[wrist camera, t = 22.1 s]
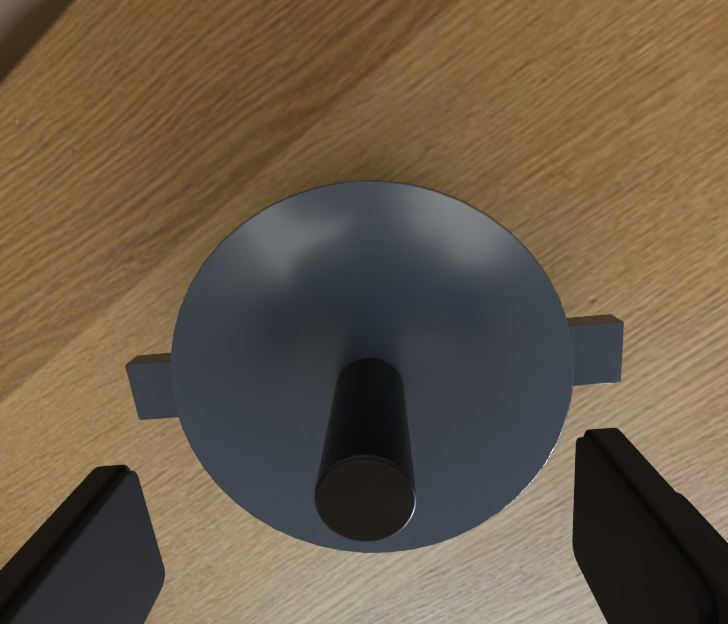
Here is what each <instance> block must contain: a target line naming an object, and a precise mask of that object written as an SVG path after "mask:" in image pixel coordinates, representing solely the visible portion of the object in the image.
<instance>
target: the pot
mask: <svg viewBox="0 0 728 624" xmlns="http://www.w3.org/2000/svg"><path fill="white" fill-rule="evenodd" d="M567 321H568V326H569V331H570V336H571V341H572V346H573V361H574V378H573V386H581V385H594V384H607V383H619V382H621V366H622V347H623V327H624V322H623V321H621V320H620V319H618V318H616V317H615V316H613V315H611V314H608V315H597V316H585V317H574V318H567ZM125 367H126V371H127V374H128V378H129V382H130V386H131V390H132V394H133V398H134V401H135V405H136V409H137V413H138V417H139V419H140V420H147V419H159V418H172V417H179V416H178V412H177V409H176V406H175V401H174V395H173V389H172V382H171V353H163V354H151V355H140V356H136V357H135V358H134V359H132V360H131V361H130V362H128V363H127V364H126V366H125Z"/></svg>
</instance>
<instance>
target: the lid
mask: <svg viewBox="0 0 728 624" xmlns="http://www.w3.org/2000/svg"><path fill="white" fill-rule="evenodd" d="M573 378H574V361H573V346H572V341H571V336H570V331H569V326H568V321H567V318H566V316H565V313H564V310H563V307H562V304H561V302H560V299H559V296H558V295H557V293H556V291H555V289H554V287H553V285H552V283H551V281H550V280H549V278H548V276H547V274H546V273H545V271H544V270H543V269H542V267H541V266H540V264H539V263H538V262H537V260H536V259H535V258H534V256H533V255H532V254H531V252H530V251H529V250H528V249H527V248H526V247H525V246H524V245H523V244H522V243H521V242H520V241H519V240H518V239H517V238H516V237H515V236H514V235H513V234H512V233H511V232H510V231H509V230H507V229H506V228H505V227H503V226H502V225H501V224H499V223H498V222H497V221H495V220H494V219H493V218H491V217H490V216H489V215H487V214H485V213H484V212H482V211H480V210H478V209H476V208H475V207H473V206H471V205H469V204H468V203H466V202H464V201H462V200H459V199H457V198H454V197H452V196H449V195H446V194H444V193H441V192H439V191H436V190H433V189H429V188H424V187H420V186H416V185H412V184H408V183H400V182H390V181H379V180H371V181H347V182H342V183H336V184H330V185H325V186H319V187H316V188H313V189H310V190H306V191H303V192H300V193H297V194H294V195H291V196H289V197H287V198H285V199H283V200H280V201H278V202H276V203H274V204H272V205H270V206H268V207H266V208H264V209H263V210H261V211H260V212H258V213H257V214H255V215H254V216H252V217H251V218H249V219H248V220H246V221H245V222H243V223H242V224H241V225H239V226H238V227H237V228H236V229H235V230H234V231H233V232H232V233H230V234H229V235H228V236H227V237H226V238H225V239H224V240H223V241H222V242H221V243H220V244H219V245H218V246H217V247H216V249H215V250H214V251H213V252H212V253H211V255H210V256H209V257H208V258H207V259H206V261H205V262H204V263H203V265H202V266H201V268H200V270H199V271H198V273H197V275H196V276H195V278H194V279H193V281H192V283H191V284H190V286H189V289H188V291H187V293H186V296H185V298H184V300H183V303H182V305H181V307H180V311H179V314H178V318H177V322H176V325H175V329H174V334H173V342H172V350H171V382H172V389H173V395H174V401H175V406H176V409H177V412H178V416H179V419H180V422H181V425H182V428H183V430H184V433H185V435H186V437H187V439H188V441H189V443H190V446H191V448H192V450H193V451H194V453H195V454H196V456H197V458H198V459H199V461H200V462H201V464H202V466H203V467H204V469H205V470H206V471H207V472H208V474H209V475H210V476H211V477H212V479H213V480H214V481H215V482H216V483H217V485H218V486H219V487H220V488H221V489H222V490H223V491H224V492H225V493H226V494H227V495H228V496H229V497H230V498H231V499H232V500H234V501H235V502H236V503H237V504H238V505H240V506H241V507H242V508H243V509H245V510H246V511H247V512H249V513H250V514H251V515H253V516H254V517H256V518H257V519H259V520H261V521H262V522H264V523H266V524H267V525H269V526H271V527H272V528H274V529H276V530H278V531H281V532H283V533H285V534H287V535H289V536H292V537H294V538H296V539H299V540H303V541H306V542H309V543H312V544H315V545H318V546H323V547H327V548H332V549H337V550H343V551H353V552H363V553H382V552H396V551H404V550H412V549H416V548H421V547H425V546H430V545H434V544H437V543H440V542H442V541H445V540H448V539H451V538H454V537H457V536H459V535H461V534H463V533H465V532H467V531H469V530H471V529H473V528H475V527H477V526H479V525H481V524H482V523H484V522H485V521H487V520H488V519H490V518H492V517H493V516H495V515H496V514H498V513H499V512H500V511H501V510H503V509H504V508H505V507H506V506H508V505H509V504H510V503H511V502H513V501H514V500H515V499H516V498H517V497H518V496H519V495H520V494H521V493H522V492H523V491H524V490H525V489H526V488H527V487H528V486H529V485H530V483H531V482H532V481H533V480H534V478H535V477H536V476H537V474H538V473H539V472H540V470H541V469H542V468H543V466H544V465H545V464H546V462H547V460H548V458H549V457H550V455H551V453H552V451H553V449H554V448H555V446H556V444H557V442H558V440H559V437H560V434H561V432H562V429H563V427H564V424H565V422H566V418H567V414H568V410H569V406H570V402H571V398H572V388H573Z"/></svg>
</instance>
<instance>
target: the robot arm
mask: <svg viewBox="0 0 728 624" xmlns="http://www.w3.org/2000/svg"><path fill="white" fill-rule="evenodd" d="M572 542H573V551H574V555H575V558H576V561H577V563H578V565H579V567H580V569H581V571H582V573H583V575H584V577H585V579H586V581H587V583H588V585H589V587H590V589H591V591H592V593H593V595H594V597H595V599H596V601H597V603H598V605H599V607H600V609H601V611H602V613H603V615H604V617H605V619H606V621H607V623H608V624H728V543H727V542H726V541H725V540H724V539H723V537H722V536H721V535H720V534H719V533H718V532H717V531H716V530H715V529H714V528H713V527H712V526H711V524H710V523H709V522H708V521H707V520H706V519H705V518H704V517H703V516H702V515H701V514H700V513H699V511H698V510H697V509H696V508H695V507H694V506H693V505H692V504H691V503H690V502H689V501H688V500H687V499H686V498H685V497H684V496H683V495H682V494H680V493H677V492H675V491H674V489H673V488H672V487H671V486H670V485H669V484H668V483H667V482H666V481H665V479H664V478H663V477H662V476H661V475H660V474H659V473H658V472H657V471H656V470H655V468H654V467H653V466H652V465H651V464H650V463H649V462H648V461H647V460H646V459H645V457H644V456H643V455H642V454H641V453H640V452H639V451H638V450H637V449H636V448H635V446H634V445H633V444H632V443H631V442H630V441H629V440H628V439H627V438H626V437H625V435H624V434H623V433H622V432H621V431H620V430H619V429H617V428H604V429H591V430H587V431H586V432H585V434H584V437H581V438H578V439H577V441H576V454H575V483H574V512H573V541H572ZM164 577H165V570H164V565H163V562H162V558H161V555H160V551H159V548H158V544H157V541H156V537H155V534H154V530H153V527H152V523H151V520H150V516H149V513H148V509H147V506H146V502H145V499H144V495H143V492H142V488H141V485H140V481H139V478H138V475H137V473H136V472H134V471H130V468H129V467H128V466H126V465H112V466H100V467H96V468H95V469H94V470H92V471H91V473H90V474H89V475H88V476H87V477H86V478H85V479H84V480H83V481H82V482H81V483H80V485H79V486H78V487H77V488H76V489H75V490H74V491H73V492H72V493H71V494H70V495H69V496H68V498H67V499H66V500H65V501H64V502H63V503H62V504H61V505H60V506H59V507H58V508H57V509H56V511H55V512H54V513H53V514H52V515H51V516H50V517H49V518H48V519H47V520H46V521H45V523H44V524H43V525H42V526H41V527H40V528H39V529H38V530H37V531H36V532H35V533H34V534H33V536H32V537H31V538H30V539H29V540H28V541H27V542H26V543H25V544H24V545H23V546H22V547H21V549H20V550H19V551H18V552H17V553H16V554H15V555H14V556H13V557H12V558H11V559H10V561H9V562H8V563H7V564H6V565H5V566H4V567H3V568H2V569H1V570H0V624H144V622H145V620H146V618H147V616H148V614H149V612H150V610H151V608H152V606H153V604H154V602H155V601H156V599H157V597H158V595H159V593H160V591H161V588H162V586H163V583H164Z"/></svg>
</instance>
